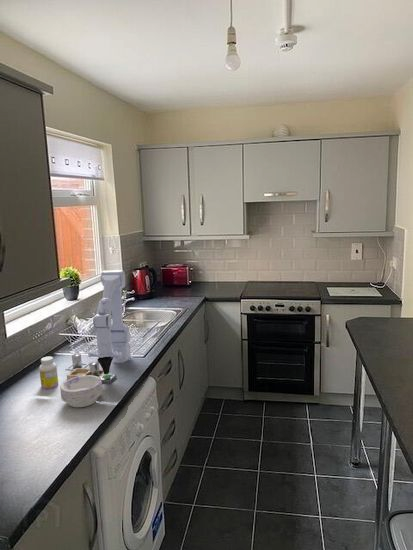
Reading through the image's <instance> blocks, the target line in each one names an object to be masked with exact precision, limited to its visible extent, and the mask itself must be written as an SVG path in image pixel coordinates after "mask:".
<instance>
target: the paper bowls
mask: <svg viewBox="0 0 413 550" xmlns="http://www.w3.org/2000/svg"><path fill="white" fill-rule="evenodd" d="M59 390H60V398H61V401H63V402H64V403H66V404H68V405H69V406H71V407H73V408H85V407H89V406H91V405H93V404H94V403H96V401H98V398H99V397H100V396H102V395H103V383H102V380H101V378H99V377H97V376H92V375H85V376H78V377H74V378H71V379H67V380H64V381H63V382H62V383H61V384H60V386H59Z"/></svg>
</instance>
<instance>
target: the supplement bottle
mask: <svg viewBox="0 0 413 550" xmlns="http://www.w3.org/2000/svg"><path fill="white" fill-rule="evenodd" d="M40 363H41V364H40V365H39V379H40V387H41V389H43V390H51V389H55V388H57V387H58V386H59V378H58V367H57V364H56V362H55V361H54V357H53V356H49V355H48V356H44V357H42V358H40Z"/></svg>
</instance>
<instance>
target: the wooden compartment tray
mask: <svg viewBox="0 0 413 550" xmlns="http://www.w3.org/2000/svg"><path fill="white" fill-rule="evenodd" d="M99 370H100V375H99V376H98V377H99V378H100V377H101V376H102V375H103V374H104V372H103V369H99ZM85 375H90V368H83V367H81V368H76V369H75V370H71V371H70V372H69V373H68V374H67V375H66V379H67V380H69V379H71V378H74V377H78V376H85Z"/></svg>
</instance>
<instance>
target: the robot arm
mask: <svg viewBox="0 0 413 550" xmlns="http://www.w3.org/2000/svg"><path fill="white" fill-rule="evenodd" d="M100 282H101V284H102V287H103V293H102V298H101V299H99V302H98V307H97V311H96V314H95V315H93V320H92V325H93V328H94V332H95V333H96V334H95V335H96V345H97V347H96V348H97V350H90V351H88V352H87V354H88V356H87V357H89V358H91V357H97V361H96V362H99V366H100V367H101V370H103V372H104V374H110V369H111V364H112V363H114V364H120V363H121V364H122V363H125V362H127V361H131V360H133V356H132V353H131V345H130V343H129V342H130V340H131V332H130V328H129V327H130V326H129V325H127V324H126V323H124V321H123V319H124V317H123V299H122V298H123V296H122V294H123V293H122V291H123V288H125V287H126V274H125V271H124V270H123V269H121V270H102V272H101V273H100Z"/></svg>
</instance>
